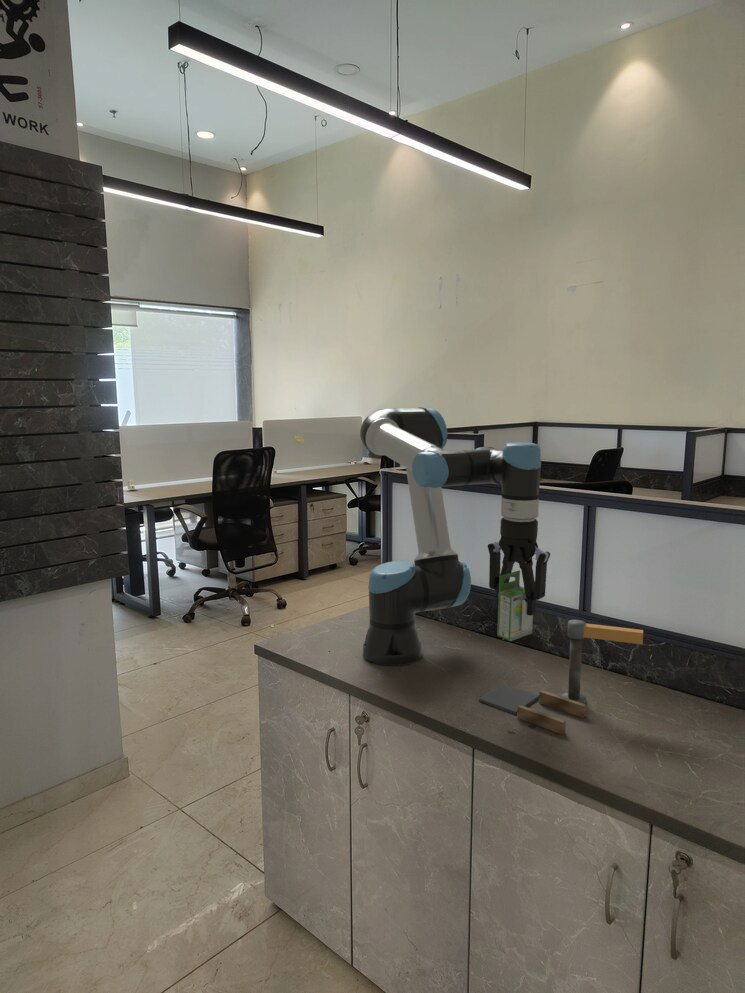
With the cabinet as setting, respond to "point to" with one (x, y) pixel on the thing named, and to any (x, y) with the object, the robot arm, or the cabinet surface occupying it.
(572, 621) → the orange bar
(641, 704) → the cabinet surface
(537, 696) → the pad
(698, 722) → the cabinet surface
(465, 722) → the cabinet surface
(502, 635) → the ink box
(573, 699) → the dock
